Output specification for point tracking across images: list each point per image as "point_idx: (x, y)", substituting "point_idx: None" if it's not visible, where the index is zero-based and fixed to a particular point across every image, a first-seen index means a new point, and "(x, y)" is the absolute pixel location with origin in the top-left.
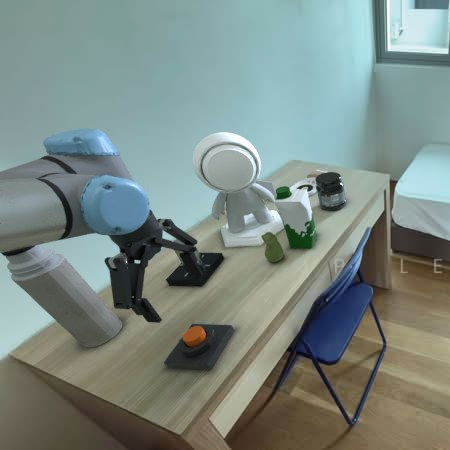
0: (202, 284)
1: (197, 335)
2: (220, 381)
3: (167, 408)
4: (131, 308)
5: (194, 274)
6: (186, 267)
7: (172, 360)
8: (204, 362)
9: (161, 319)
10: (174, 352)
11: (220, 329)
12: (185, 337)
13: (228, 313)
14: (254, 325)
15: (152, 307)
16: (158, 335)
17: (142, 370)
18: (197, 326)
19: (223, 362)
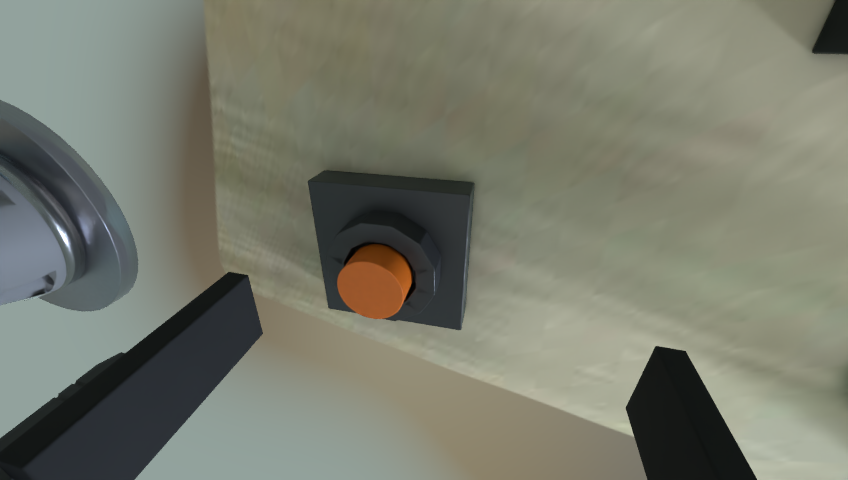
0: (829, 53)
1: (364, 309)
2: (320, 318)
3: (240, 231)
4: (20, 424)
5: (646, 382)
6: (697, 431)
7: (318, 207)
8: (331, 299)
9: (255, 338)
10: (344, 197)
11: (442, 304)
12: (351, 273)
13: (545, 270)
14: (483, 355)
15: (174, 429)
16: (446, 22)
17: (300, 79)
18: (399, 296)
19: None
